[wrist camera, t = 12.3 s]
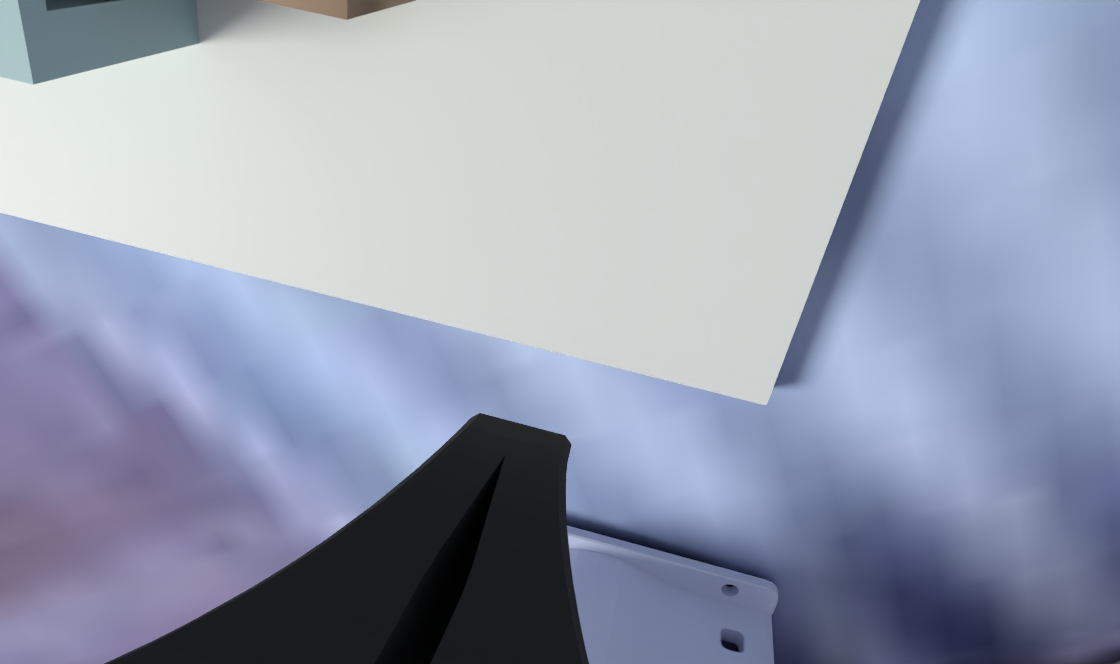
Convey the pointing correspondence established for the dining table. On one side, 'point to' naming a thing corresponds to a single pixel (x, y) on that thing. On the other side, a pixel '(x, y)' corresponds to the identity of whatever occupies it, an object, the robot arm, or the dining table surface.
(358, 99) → the board
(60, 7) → the teal block
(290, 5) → the slat
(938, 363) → the dining table surface
